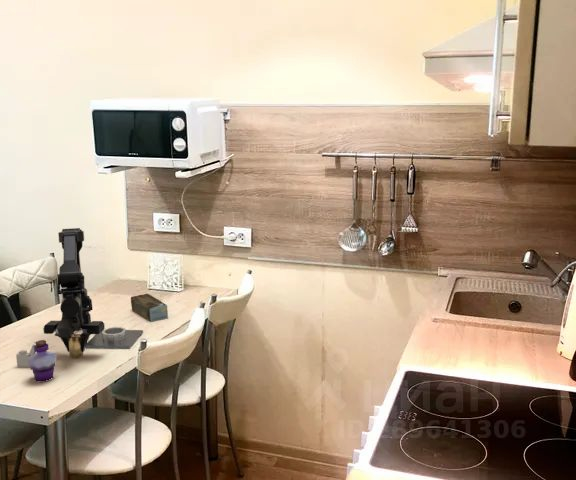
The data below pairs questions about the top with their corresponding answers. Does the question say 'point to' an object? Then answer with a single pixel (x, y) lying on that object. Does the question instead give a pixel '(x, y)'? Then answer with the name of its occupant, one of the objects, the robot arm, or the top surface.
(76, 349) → the tan cylinder
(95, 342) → the ring block
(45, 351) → the potion bottle
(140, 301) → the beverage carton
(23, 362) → the grey notched block
